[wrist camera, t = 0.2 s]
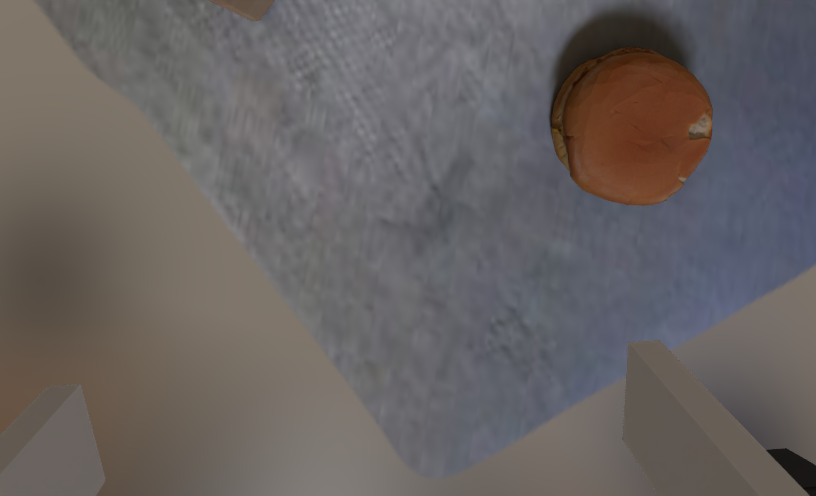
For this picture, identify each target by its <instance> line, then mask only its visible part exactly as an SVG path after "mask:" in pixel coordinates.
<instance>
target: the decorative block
mask: <svg viewBox="0 0 816 496" xmlns="http://www.w3.org/2000/svg"><path fill="white" fill-rule="evenodd" d="M209 1H211V2H213V3H215V4H217V5H219V6H221V7H223V8H226V9H228V10H230V11H232V12H234V13H236V14H238V15H240V16H242V17H244V18H246V19H248V20H250V21H258V20H261V18H262V17H263V15H264V14H265V13H266V11H267V10H268V9H269V7H270V6H271V4H272V3H273V2H274V0H209Z"/></svg>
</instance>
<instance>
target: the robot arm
mask: <svg viewBox="0 0 816 496" xmlns="http://www.w3.org/2000/svg"><path fill="white" fill-rule="evenodd" d="M623 441H624V442H625V444H626V446H627V447H628V449H629V450H630V452H631V454H632V455H633V457H634V458H635V460H636V461H637V463H638V465H639V466H640V468H641V470H642V471H643V473H644V474H645V476H646V477H647V479H648V481H649V482H650V484H651V486H652V487H653V488H654V490H655V492H656V493H657V495H658V496H816V466H815V465H814V464H813V463H811V462H809V461H807V460H806V459H804V458H802V457H800V456H799V455H797V454H795V453H794V452H792V451H790V450H788V449H786V448H785V449H772V450H765V449H764V448H763V447H762V446H761V445H760V444H759V443H758V442H757V441H756V440H755V439H754V438H753V436H752V435H751V434H750V433H749V432H748V431H747V430H746V429H745V428H744V427H743V426H742V425H741V424H740V423H739V422H738V421H737V420H736V419H735V418H734V417H733V416H732V415H731V414H730V413H729V412H728V411H727V409H726V408H725V407H724V406H723V405H722V404H721V403H720V402H719V401H718V400H717V399H716V398H715V397H714V396H713V395H712V394H711V393H710V392H709V391H708V390H707V389H706V388H705V387H704V386H703V385H702V384H701V383H700V381H699V380H698V379H697V378H696V377H695V376H694V375H693V374H692V373H691V372H690V371H689V370H688V369H687V368H686V367H685V366H684V365H683V364H682V363H681V362H680V361H679V360H678V359H677V358H676V357H675V356H674V355H673V354H672V352H671V351H670V350H669V349H668V348H667V347H666V346H665V345H664V344H663V343H662V342H661V341H660V340H654V341H641V342H628V357H627V373H626V389H625V406H624V422H623ZM104 482H105V476H104V472H103V468H102V464H101V461H100V457H99V453H98V449H97V446H96V442H95V438H94V434H93V430H92V426H91V423H90V419H89V415H88V411H87V407H86V404H85V400H84V396H83V392H82V388H81V385H80V384H73V385H61V386H48V387H47V388H46V389H45V390H44V391H43V392H42V393H41V394H40V395H39V396H38V397H37V398H36V399H35V400H34V401H33V402H32V403H31V404H30V405H29V406H28V407H27V408H26V409H25V410H24V411H23V412H22V413H21V414H20V415H19V416H18V417H17V418H16V419H15V420H14V421H13V422H12V423H11V424H10V425H9V426H8V428H7V429H5V430H4V432H3V433H2V434H1V435H0V496H96V495H97V493H98V492H99V490H100V488H101V487H102V485H103V484H104Z"/></svg>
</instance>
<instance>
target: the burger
mask: <svg viewBox="0 0 816 496" xmlns="http://www.w3.org/2000/svg"><path fill="white" fill-rule="evenodd" d="M712 113H713V109H712V105H711V102H710V99H709V96H708V94H707V92H706V90H705V89H704V87H703V86H702V85H701V83H700V82H699V81H698V80H697V79H696V77H695V76H694V75H693V74H692V73H691V72H690V71H689V70H687V69H686V68H684V67H683V66H681V65H680V64H678V63H677V62H675V61H673V60H671V59H668V58H666V57H663V56H662V55H661V54H659V53H658V52H654V51H652V50H651V49H649V48H645V49H641V48H639V47H635V48H633V47H628V46H626V48H621V49H617V50H614V51H612V52H610V53H608V54H606V55H604V56H602V57H600V58H596V59H592V60H588V61H587V62H585V63H583V64H581V65H580V66H578V67H577V68H576V69H575V70H574V71H573V72H572V73H571V74H570V76H569V77H568V78H567V79H566V81H565V82H564V83H563V85H562V88H561V90H560V91H559V93H558V95H557V97H556V100H555V103H554V106H553V113H552V128H551V131H552V137H553V142H554V147H555V151H556V154H557V156H558V158H559V160H560V161H561V162H562V163H563V164H564V165H565V166H566V168H567V169H568V170H569V171H570V176H571V178H572V179H573V181H574V182H575V183H576V184H577V185H578V186H579V187H580V188H581V189H582V190H584V191H586V192H588V193H591V194H593V195H595V196H597V197H600V198H603V199H606V200H609V201H612V202H617V203H622V204H626V205H653V204H657V203H661V202H663V201H666V199H667V198H668V197H670V196H671V195H673V194H674V193H676V192H677V191H679V190H680V188H681V187H682V186H683V185H684V181H685V180H686V179H687V178H688V177H689V176H690V175H691V173H692V172H693V171H694V170H695V169H696V167H697V166H698V164H699V163H700V161H701V160H702V158H703V157H704V155H705V154H706V152H707V150H708V147H709V144H710V141H711V137H712Z"/></svg>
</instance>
